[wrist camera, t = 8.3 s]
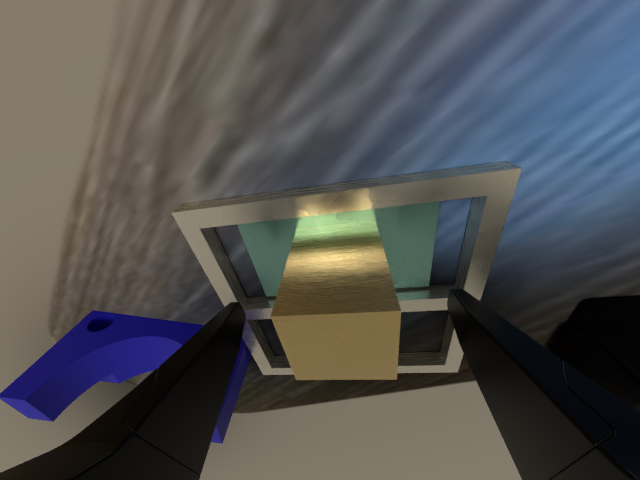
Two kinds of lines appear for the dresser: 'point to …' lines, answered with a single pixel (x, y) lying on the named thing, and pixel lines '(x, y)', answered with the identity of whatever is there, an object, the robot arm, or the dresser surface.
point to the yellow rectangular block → (338, 305)
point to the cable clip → (109, 363)
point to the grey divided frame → (351, 207)
